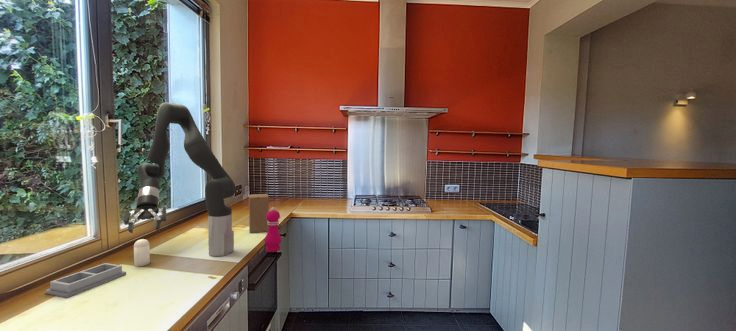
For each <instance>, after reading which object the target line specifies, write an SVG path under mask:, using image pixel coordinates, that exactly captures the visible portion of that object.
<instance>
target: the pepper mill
mask: <svg viewBox="0 0 736 331" xmlns="http://www.w3.org/2000/svg"><path fill="white" fill-rule="evenodd" d="M266 218H267V220H268V223H267V224H268V232H266V235H265V238H264V244H265V245H266V246H265V251H266V252H269V253H276V252H279V251H280V250H281V245H280V244H281V242H282V236H281V234H280V232H279V228H278V227H279V219H280V218H281V215H280V211H278V210H276V207H274V206H272V207H271V208H270V211H269V212H268V213H267V215H266Z"/></svg>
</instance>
